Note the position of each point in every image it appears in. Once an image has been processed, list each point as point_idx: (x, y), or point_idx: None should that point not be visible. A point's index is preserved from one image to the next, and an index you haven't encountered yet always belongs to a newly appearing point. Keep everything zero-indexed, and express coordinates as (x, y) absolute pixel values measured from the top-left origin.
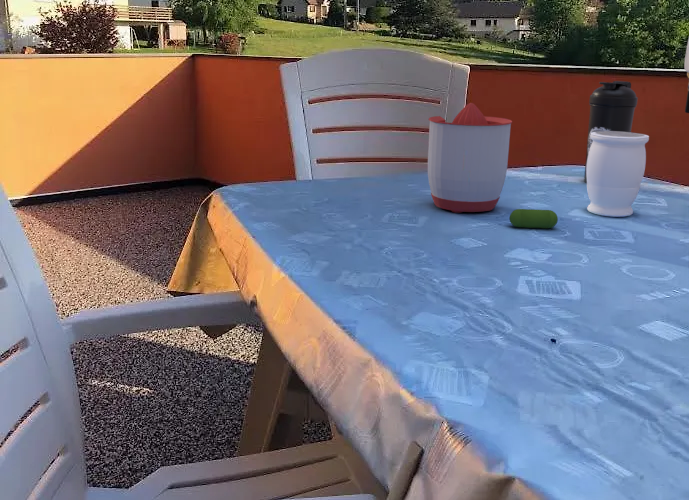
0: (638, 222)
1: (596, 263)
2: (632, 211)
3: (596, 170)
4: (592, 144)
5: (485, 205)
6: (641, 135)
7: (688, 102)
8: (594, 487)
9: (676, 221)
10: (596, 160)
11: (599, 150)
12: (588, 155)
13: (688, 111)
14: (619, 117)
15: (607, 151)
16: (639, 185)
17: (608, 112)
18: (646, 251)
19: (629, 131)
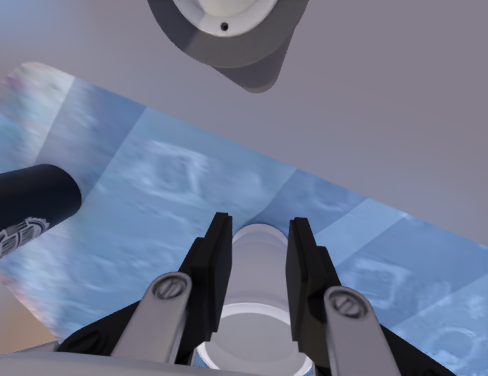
0: (312, 231)
1: (480, 326)
2: (274, 229)
3: (282, 322)
4: (252, 360)
5: None
6: (232, 302)
7: (225, 293)
8: None
9: (305, 181)
10: (280, 337)
11: (281, 353)
12: (250, 342)
13: (231, 264)
14: None
15: (294, 347)
16: (281, 249)
17: None
18: (448, 271)
19: None
